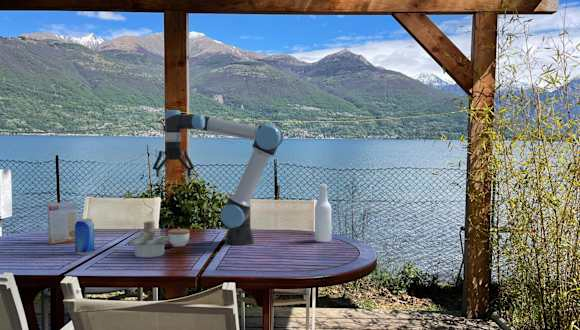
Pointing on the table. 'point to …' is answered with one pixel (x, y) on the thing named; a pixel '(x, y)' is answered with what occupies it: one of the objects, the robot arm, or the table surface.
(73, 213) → the cracker box
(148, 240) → the lid
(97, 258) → the table surface
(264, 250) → the table surface
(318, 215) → the alcohol
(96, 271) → the table surface
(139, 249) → the bowl
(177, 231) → the lidded jar
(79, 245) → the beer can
